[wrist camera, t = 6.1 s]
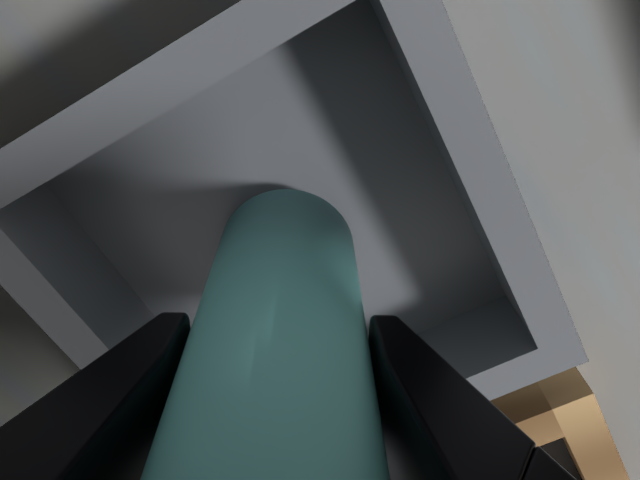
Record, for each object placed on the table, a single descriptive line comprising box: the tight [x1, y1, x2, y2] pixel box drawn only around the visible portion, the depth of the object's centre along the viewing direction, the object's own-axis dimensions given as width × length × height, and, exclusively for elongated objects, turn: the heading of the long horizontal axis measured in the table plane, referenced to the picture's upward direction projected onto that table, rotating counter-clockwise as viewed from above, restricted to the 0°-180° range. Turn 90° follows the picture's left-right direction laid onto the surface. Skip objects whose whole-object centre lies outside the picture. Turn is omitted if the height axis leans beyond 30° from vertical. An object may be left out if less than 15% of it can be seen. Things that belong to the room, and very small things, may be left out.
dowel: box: [140, 189, 390, 480], centre depth 8 cm, size 3×3×8 cm
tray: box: [0, 0, 589, 401], centre depth 11 cm, size 9×9×2 cm
